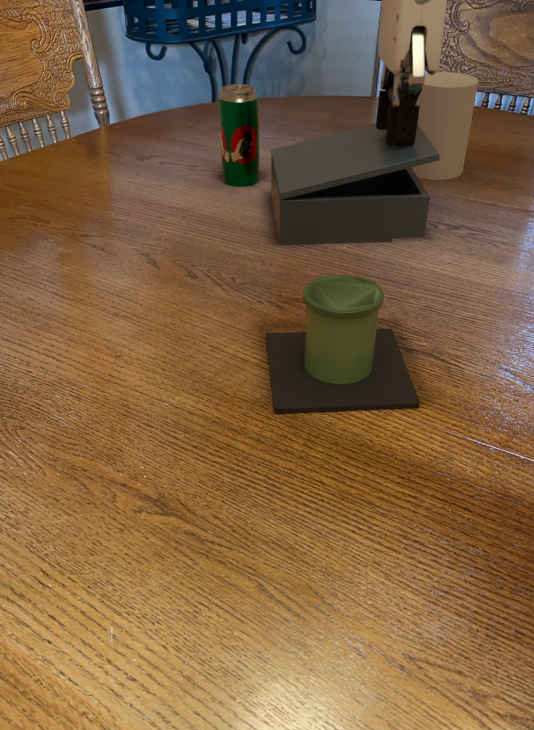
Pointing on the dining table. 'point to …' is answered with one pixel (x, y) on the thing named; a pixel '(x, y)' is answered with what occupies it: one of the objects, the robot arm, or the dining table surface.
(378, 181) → the grey storage tray
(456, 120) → the beige cylinder
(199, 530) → the dining table surface
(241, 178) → the soda can
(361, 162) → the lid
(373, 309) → the pot
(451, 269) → the dining table surface
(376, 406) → the plate
